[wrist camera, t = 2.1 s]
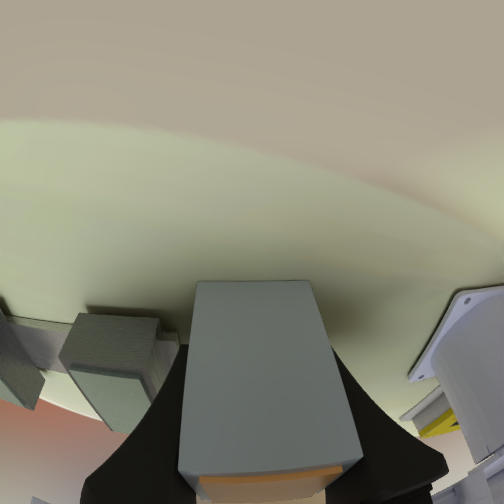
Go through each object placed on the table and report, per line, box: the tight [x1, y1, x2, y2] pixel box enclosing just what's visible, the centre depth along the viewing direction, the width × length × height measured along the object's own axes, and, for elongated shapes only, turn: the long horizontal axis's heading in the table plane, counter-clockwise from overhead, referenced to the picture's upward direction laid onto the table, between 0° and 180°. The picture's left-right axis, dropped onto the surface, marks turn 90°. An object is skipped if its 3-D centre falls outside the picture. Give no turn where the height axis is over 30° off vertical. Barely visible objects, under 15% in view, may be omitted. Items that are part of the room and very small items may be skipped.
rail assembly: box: [0, 308, 180, 434], centre depth 12 cm, size 15×7×4 cm, turn 88°
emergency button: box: [399, 384, 461, 438], centre depth 20 cm, size 9×4×15 cm
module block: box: [178, 280, 363, 503], centre depth 10 cm, size 4×5×8 cm
